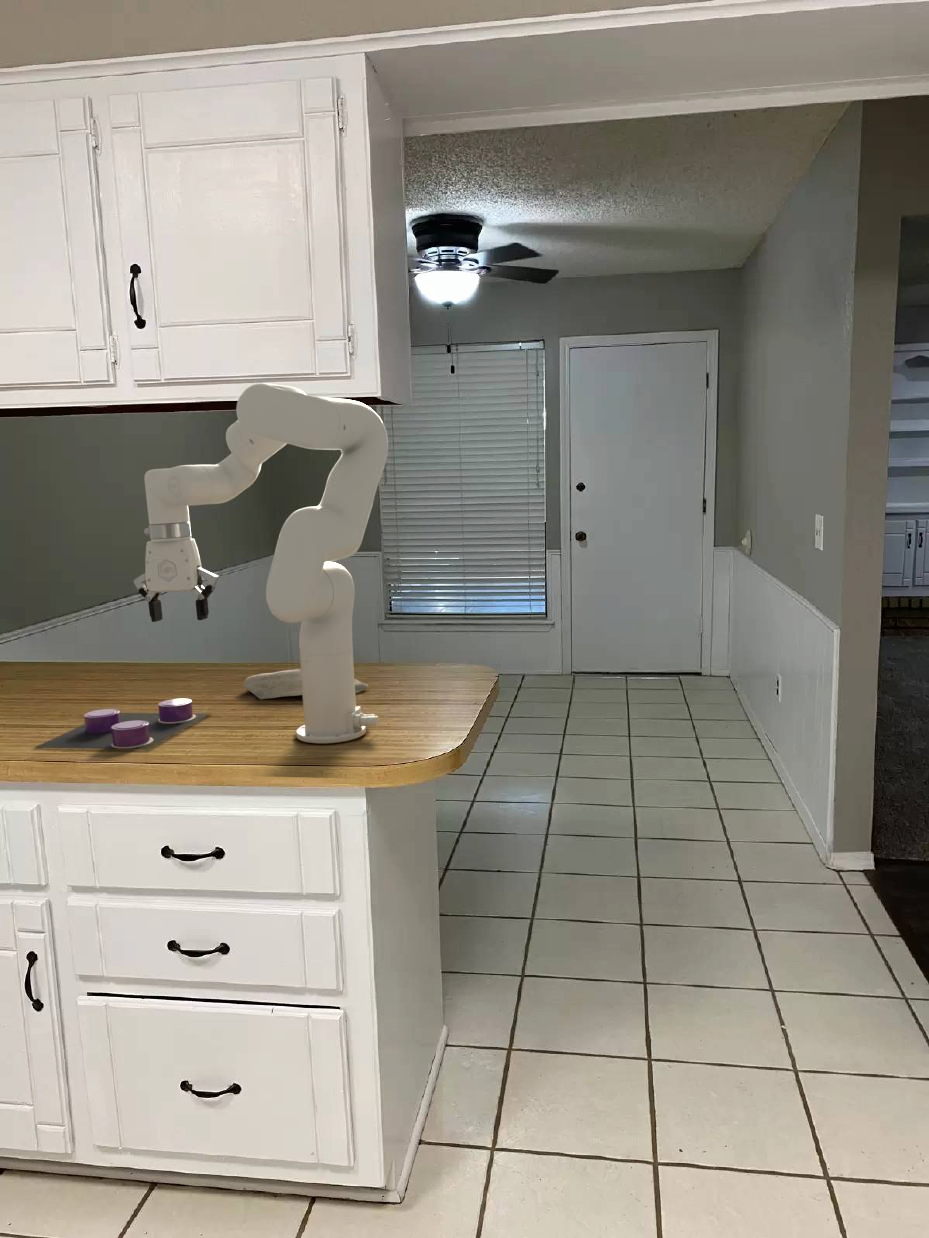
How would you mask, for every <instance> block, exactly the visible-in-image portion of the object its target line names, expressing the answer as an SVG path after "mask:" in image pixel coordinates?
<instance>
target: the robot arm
mask: <svg viewBox="0 0 929 1238" xmlns="http://www.w3.org/2000/svg"><path fill="white" fill-rule="evenodd" d="M235 410H236V417H237V420H236V421H234V422H233V423H232V424H230V426H228V428H227V430H226V432H225V442H226V445H227V447H228V449H229V451H230V454H228V455H227V456H226V457H225V458H224V459H222V460H221V461H219V462H218V463H216V464H183V465H182V464H181V465H177V466H173V467H170V468H169V467H168V468H167V467H166V468H154V469H149V470H147V471H145V473H144V477H143V478H144V479H143V480H144V489H145V498H146V508H147V516H148V528H144V529H143V532H144V535H145V536H149V539H150V541H147V542H146V545H145V557H144V558H145V559H144V561H145V563H144V566H145V568H144V569H145V570H144V571H145V572H144V573H142V574H141V575H139V576H138V577H136V578H135V579H133V584H134V586H135V588H136V590H138V593H139V594H140V596H141V597H143V598H144V600H145V602H146V603H148V611H149V612H148V613H149V617H150V619H151V622H152V623H156V622H160V621H162V620H163V609H162V601H161V599H159V597H160V595H161V594H162V593H176V592H177V593H179V592H189V591H191V592H192V594H193V595H194V596H195V597H196V598H197V599H196V600H195V611H196V619H197V620H198V621H203V620H207V619H208V617H209V613H210V611H209V600H208V598H210V596H211V594H212V593H213V592H214V591H215V589H216V585H217V582H218V580H219V575H217V574H215V573H213V572H210V571H209V570H207V569H204V568H203V566H202V561H201V557H200V553H199V548H198V545H197V543H196V540H195V538H192V531H191V520H190V519H191V518H190V510H189V506H191V507H192V506H202V505H203V506H204V505H218V504H219V505H221V504H224V503H227V502H229V501H232V500H233V499H235V498H236V497H238V496H239V495H240V494H242V493H243V492H244V491H245V490H246V489H248V488H249V487H251V486H252V485H253V484H254V482H256V480H257V478H258V476H259V474H260V472H261V470H262V469H261V468H262V464H263V463H265V462H266V461H267V460H268V459H270V458H271V457H273V455H275V454H276V453H277V452H278V451H280V450H282V449H283V448H284V447H285V446H286V445H290V446H291V445H292V446H295V447H299V448H303V449H307V450H308V449H309V450H317V451H318V450H323V451H324V450H326V451H327V450H329V451H331V450H332V451H337V450H339V451H340V452H341V454H340V457H339V459H338V460H337V462H335V464H334V465H333V467H332V469H331V471H330V472H329V474H328V477H327V480H326V484H325V488H324V492H323V495H322V498H321V500H320V502H319V504H318V505H316V506H306V507H302V508H299V509H297V510H295V511H293V512H292V513H291V514H290V515H288V517H287V518H286V520H285V522H284V523H283V525H282V527H281V529H280V532H279V535H278V538H277V542H276V546H275V550H274V554H273V557H272V561H271V565H270V569H269V572H268V577H267V580H266V588H265V599H266V604H267V607H268V609H269V611H270V612H271V614H272V615H273V616H274V617H275V618H276V619H277V620H279V621H281V622H283V623H287V624H289V623H290V624H294V623H301V625H300V630H299V637H298V638H299V639H298V647H299V665H300V669H301V680H302V695H301V696H302V707H303V721H304V725H301V726H300V727H298V728H297V729H296V732H295V733H296V734H295V735H296V739H297V740H299V741H301V742H304V743H309V744H321V745H322V744H336V743H337V744H338V743H344V742H349V741H353V740H356V739H358V738H360V737H363V736H364V735H365V734H366V732H367V727H368V728H378V727H379V724H380V717H379V716H378V715H376V714H375V713H368V714H365V713H363V712H362V706H357V699H356V697H357V696H356V693H355V680H354V679H355V665H354V644H353V643H354V642H353V614H354V605H355V598H356V597H355V596H356V595H355V594H356V591H355V583H354V580H353V576H352V575H351V573H350V572H349V571H348V569H347V568H346V567H345V566H343V565H342V564H339V563H337V562H335V561H339V560H344V559H347V558H350V557H352V556H354V555H355V554H357V551H359V549H360V547H361V546H362V545H361V544H362V543H363V539H364V535H365V532H366V528H367V525H368V521H369V518H370V515H371V512H372V508H373V505H374V501H375V496H376V493H377V489H378V486H379V483H380V480H381V477H382V474H383V473H384V469H385V466H386V463H387V459H388V455H389V454H388V453H389V437H388V432H387V429H386V427H385V424H384V422H383V420H382V418H381V417H380V416H379V414H377V412H376V411H375V410H373V409H372V408H371V407H370V406H368V405H366V404H365V403H363V402H360V401H357V400H352V399H346V398H338V397H337V398H336V397H326V396H325V397H324V396H316V395H311V394H306V393H305V392H304V391H303V390H301V389H299V388H298V387H297V388H296V387H293V386H290V385H281V384H273V383H265V382H264V383H262V382H261V383H255V384H252V385H250V386H249V387H247V388H246V389H245V390H244V391H242V393H241V394H240V396H239V398H238V399H237V402H236V409H235ZM204 579H205V580H207V584H206V585H205V587H204V586H203V585H204Z"/></svg>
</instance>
